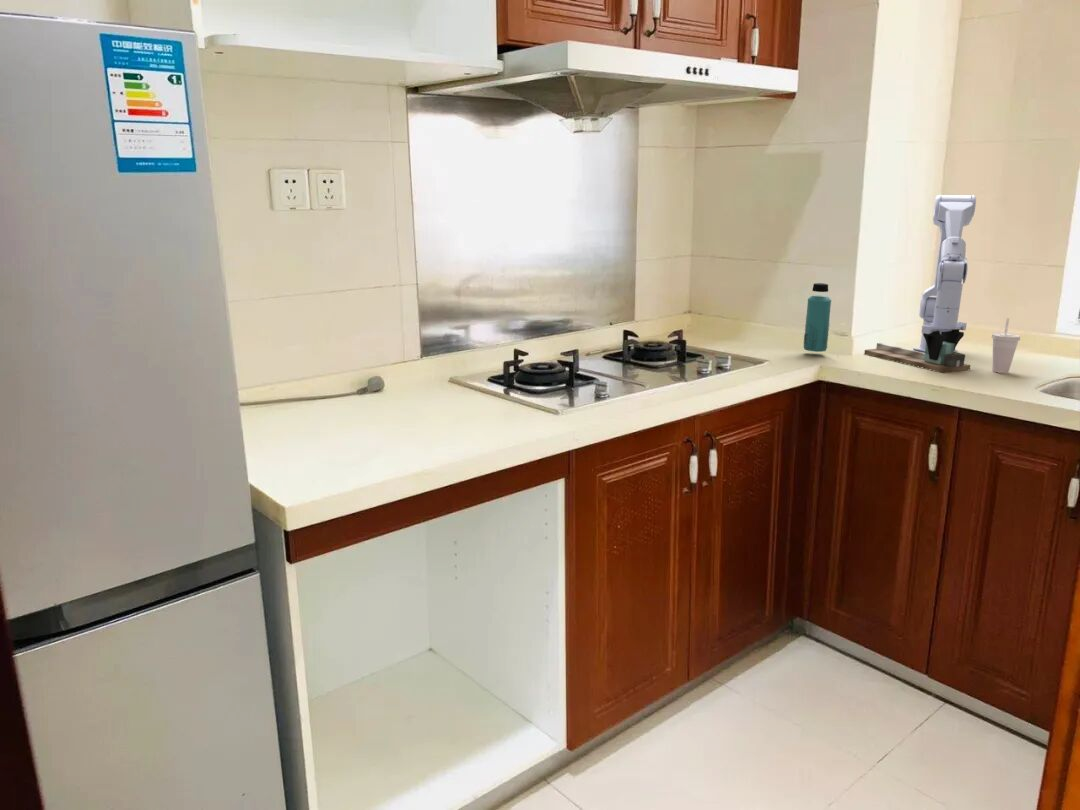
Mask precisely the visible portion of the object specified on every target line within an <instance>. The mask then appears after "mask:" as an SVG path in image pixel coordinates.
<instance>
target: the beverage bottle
mask: <svg viewBox="0 0 1080 810" xmlns="http://www.w3.org/2000/svg"><path fill="white" fill-rule="evenodd" d="M812 292H817V293H829V284H828V283H822V282H820V283H819V282H817V283H813V286H812ZM831 305H832V299H831V298H830V297H829V296H828V295H824V294H813V295H811V296H809V297H808V299H807V306H806V315H805V316H806V317H805V325H804V327H805V328H804V334H803V335H804V336H803V349H804V350H805V351H808V352H817V353H818V352H820V353H821V352H826V351H827V349H828V341H829V332H830V331H829V329H830V326H831V325H830V318H831V317H830V315H831V307H832V306H831Z"/></svg>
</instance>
